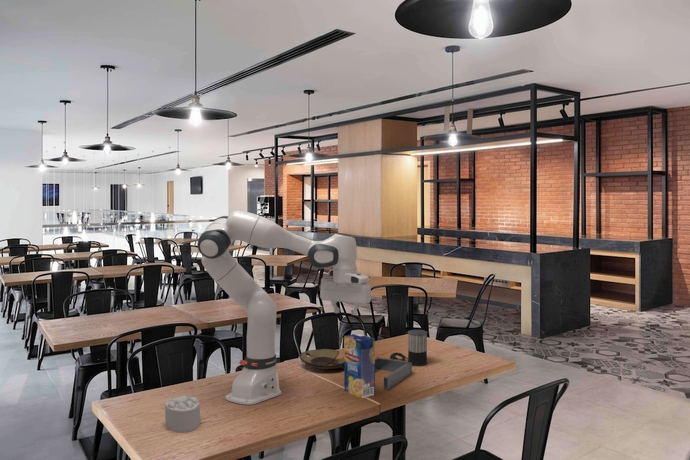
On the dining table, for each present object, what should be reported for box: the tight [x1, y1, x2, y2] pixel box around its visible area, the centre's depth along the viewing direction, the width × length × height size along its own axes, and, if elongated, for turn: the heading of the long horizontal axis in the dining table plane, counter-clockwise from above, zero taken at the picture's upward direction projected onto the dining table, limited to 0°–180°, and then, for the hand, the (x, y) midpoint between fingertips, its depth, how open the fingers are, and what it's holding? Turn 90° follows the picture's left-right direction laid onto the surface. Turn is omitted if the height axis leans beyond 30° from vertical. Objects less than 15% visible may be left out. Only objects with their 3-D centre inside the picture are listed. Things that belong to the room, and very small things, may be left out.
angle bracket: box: [375, 356, 413, 391], centre depth 230 cm, size 25×17×5 cm
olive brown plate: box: [299, 348, 344, 370], centre depth 245 cm, size 22×30×8 cm
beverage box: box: [343, 333, 376, 399], centre depth 212 cm, size 7×11×22 cm, turn 35°
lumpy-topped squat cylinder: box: [164, 395, 201, 433], centre depth 182 cm, size 10×13×9 cm
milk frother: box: [389, 329, 428, 367], centre depth 253 cm, size 14×16×15 cm
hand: (345, 313), depth 202 cm, fingers open, 6 cm apart
